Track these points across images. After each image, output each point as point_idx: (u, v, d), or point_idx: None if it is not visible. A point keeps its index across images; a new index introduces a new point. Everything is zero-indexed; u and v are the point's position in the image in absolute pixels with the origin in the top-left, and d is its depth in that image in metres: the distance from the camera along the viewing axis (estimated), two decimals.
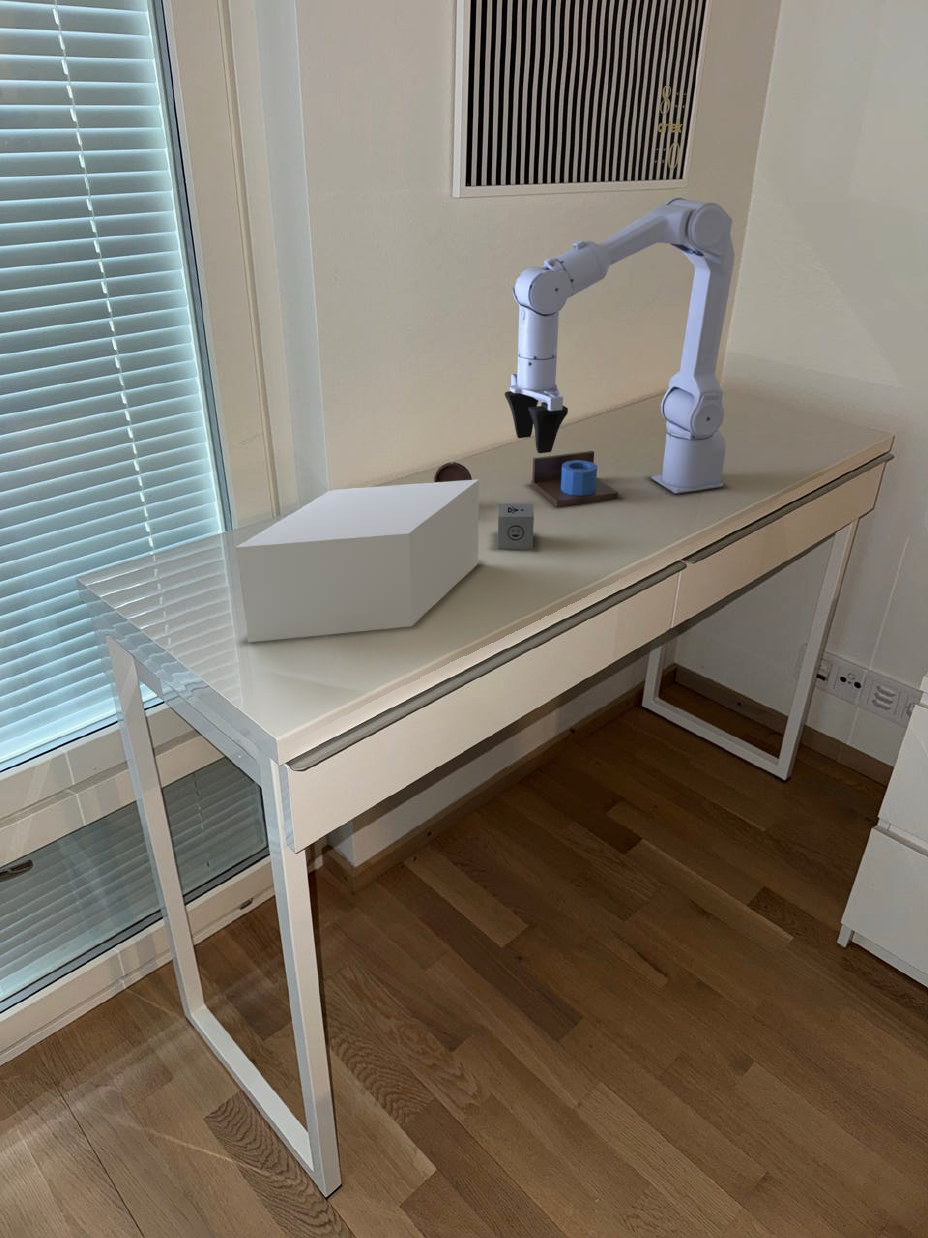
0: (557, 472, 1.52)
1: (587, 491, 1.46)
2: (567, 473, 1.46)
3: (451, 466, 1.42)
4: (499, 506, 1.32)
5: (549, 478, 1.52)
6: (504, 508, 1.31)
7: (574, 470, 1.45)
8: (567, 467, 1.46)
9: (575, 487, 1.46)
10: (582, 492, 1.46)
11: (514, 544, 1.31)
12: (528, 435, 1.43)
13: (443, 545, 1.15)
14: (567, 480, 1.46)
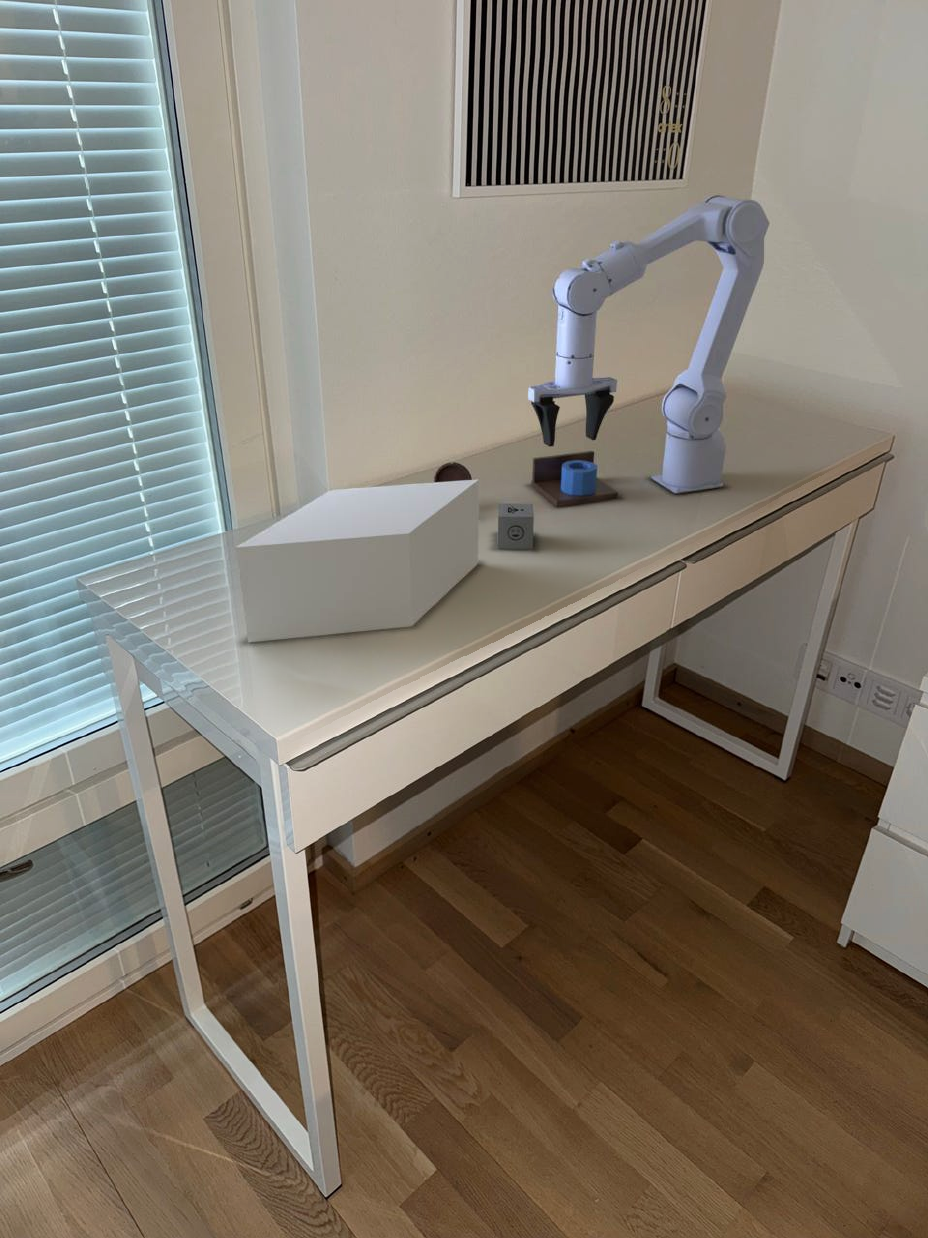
0: (557, 472, 1.52)
1: (587, 491, 1.46)
2: (567, 473, 1.46)
3: (451, 466, 1.42)
4: (499, 506, 1.32)
5: (549, 478, 1.52)
6: (504, 508, 1.31)
7: (574, 470, 1.45)
8: (567, 467, 1.46)
9: (575, 487, 1.46)
10: (582, 492, 1.46)
11: (514, 544, 1.31)
12: (591, 437, 1.44)
13: (443, 545, 1.15)
14: (567, 480, 1.46)
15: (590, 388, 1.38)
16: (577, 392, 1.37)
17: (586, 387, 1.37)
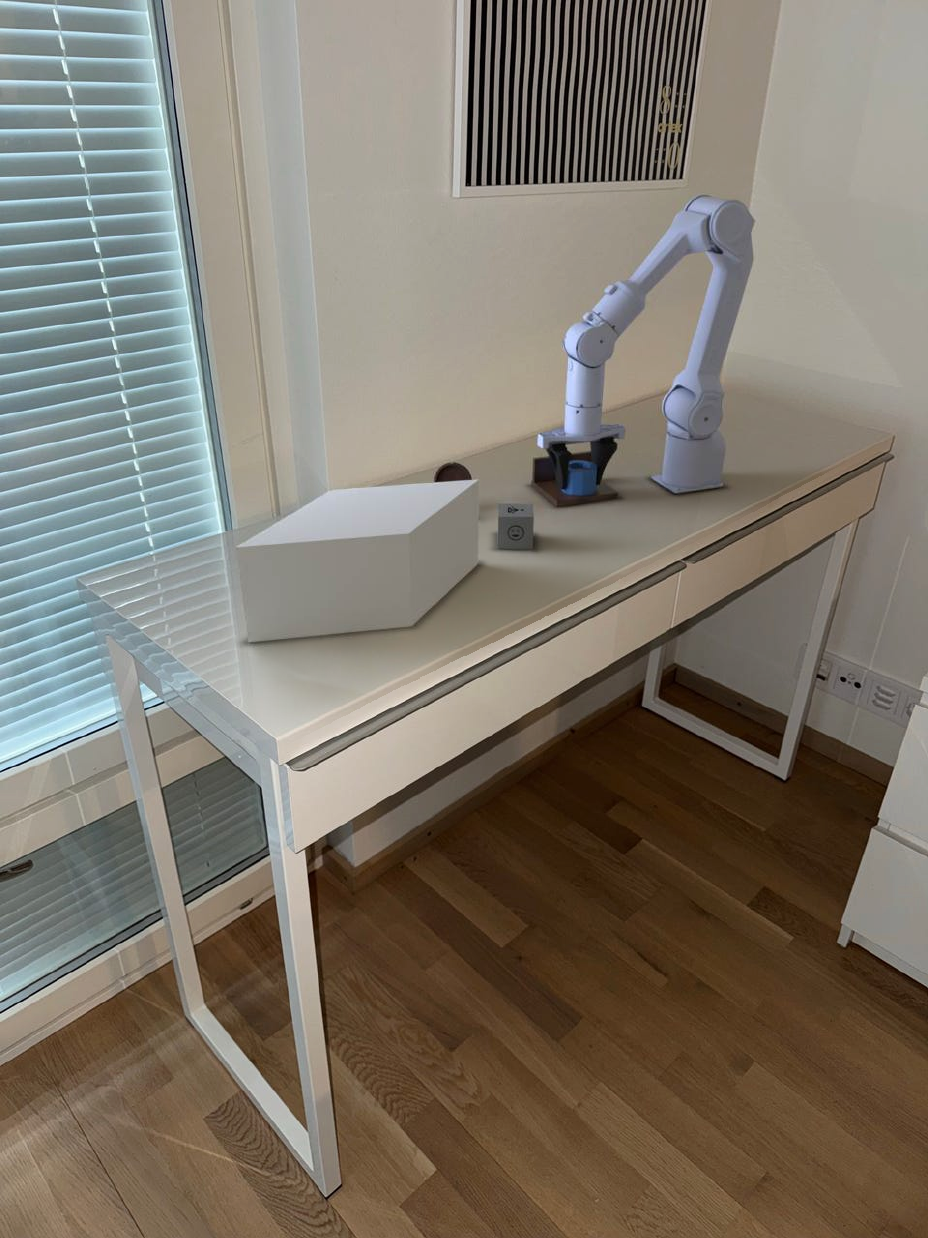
0: None
1: (587, 491, 1.46)
2: (567, 473, 1.46)
3: (451, 466, 1.42)
4: (499, 506, 1.32)
5: (549, 478, 1.52)
6: (504, 508, 1.31)
7: (574, 470, 1.45)
8: None
9: (575, 487, 1.46)
10: (582, 492, 1.46)
11: (514, 544, 1.31)
12: None
13: (443, 545, 1.15)
14: (567, 480, 1.46)
15: (598, 436, 1.42)
16: (585, 440, 1.42)
17: (594, 435, 1.42)
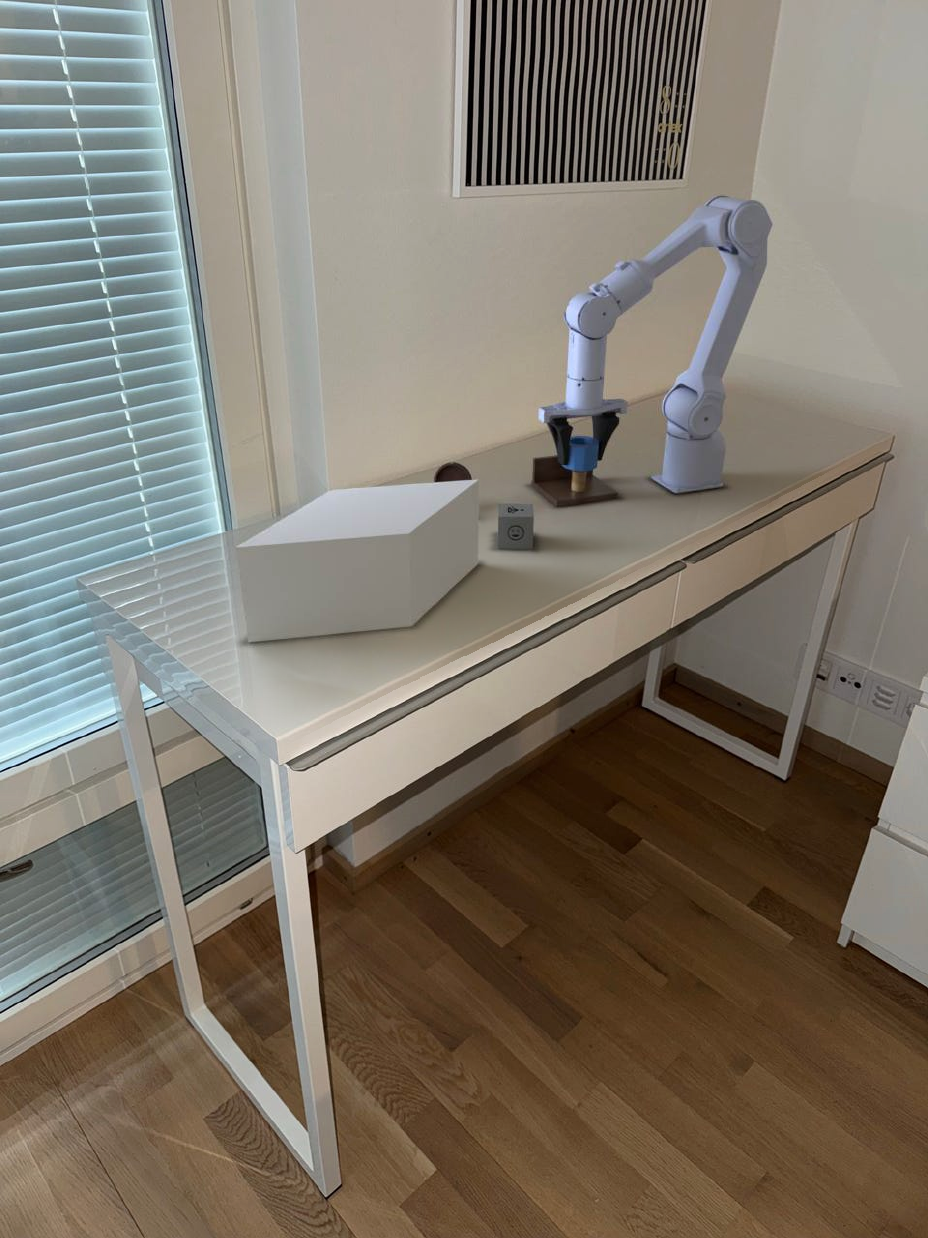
0: (557, 472, 1.52)
1: (589, 466, 1.44)
2: None
3: (451, 466, 1.42)
4: (499, 506, 1.32)
5: (549, 478, 1.52)
6: (504, 508, 1.31)
7: (575, 445, 1.43)
8: None
9: (577, 462, 1.44)
10: (584, 467, 1.44)
11: (514, 544, 1.31)
12: None
13: (443, 545, 1.15)
14: None
15: (600, 410, 1.40)
16: (586, 414, 1.40)
17: (596, 409, 1.40)
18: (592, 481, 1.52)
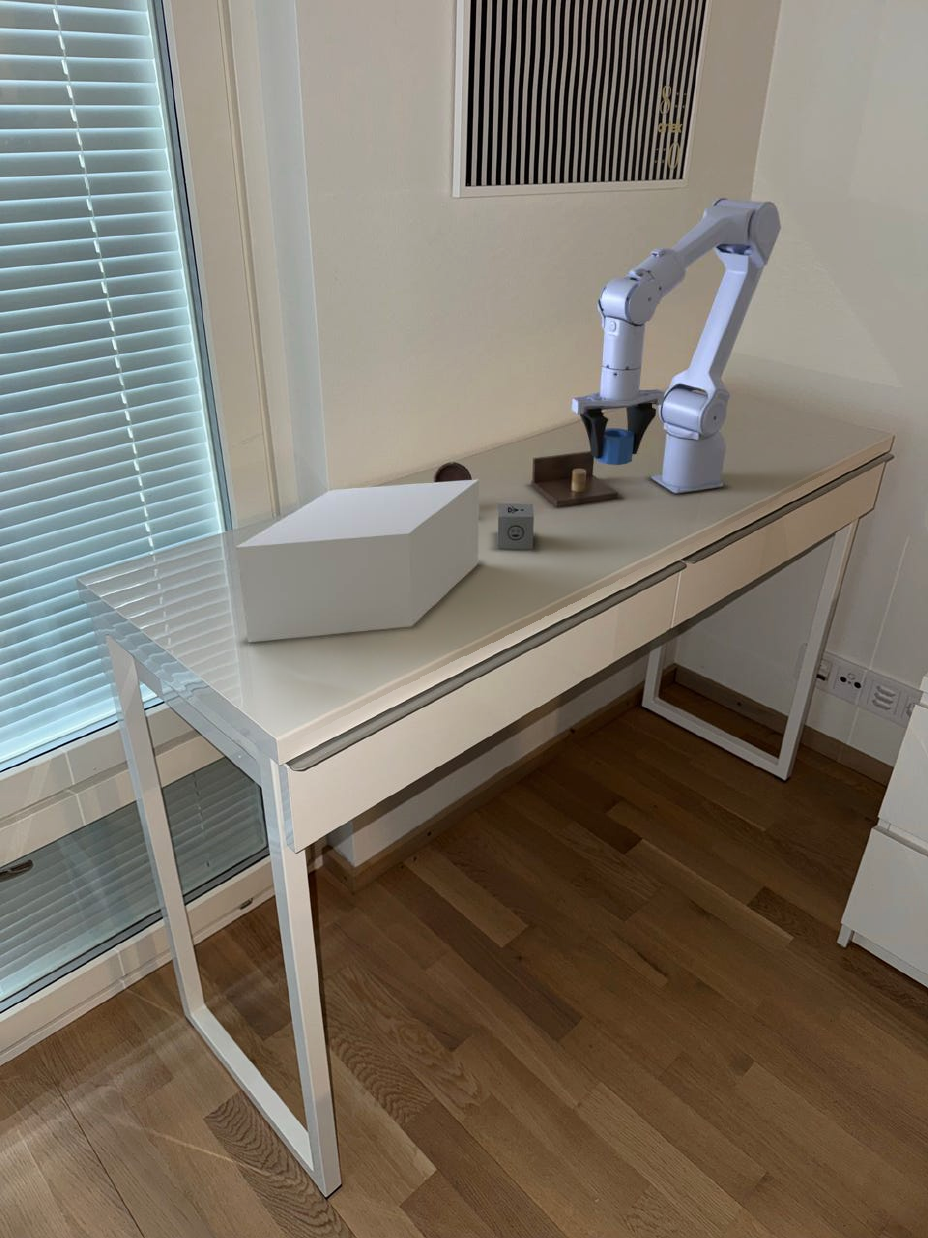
0: (557, 472, 1.52)
1: (623, 460, 1.38)
2: (603, 441, 1.37)
3: (451, 466, 1.42)
4: (499, 506, 1.32)
5: (549, 478, 1.52)
6: (504, 508, 1.31)
7: (610, 437, 1.37)
8: None
9: (611, 456, 1.38)
10: (618, 461, 1.38)
11: (514, 544, 1.31)
12: None
13: (443, 545, 1.15)
14: None
15: (636, 401, 1.34)
16: (622, 404, 1.34)
17: (632, 399, 1.34)
18: (592, 481, 1.52)
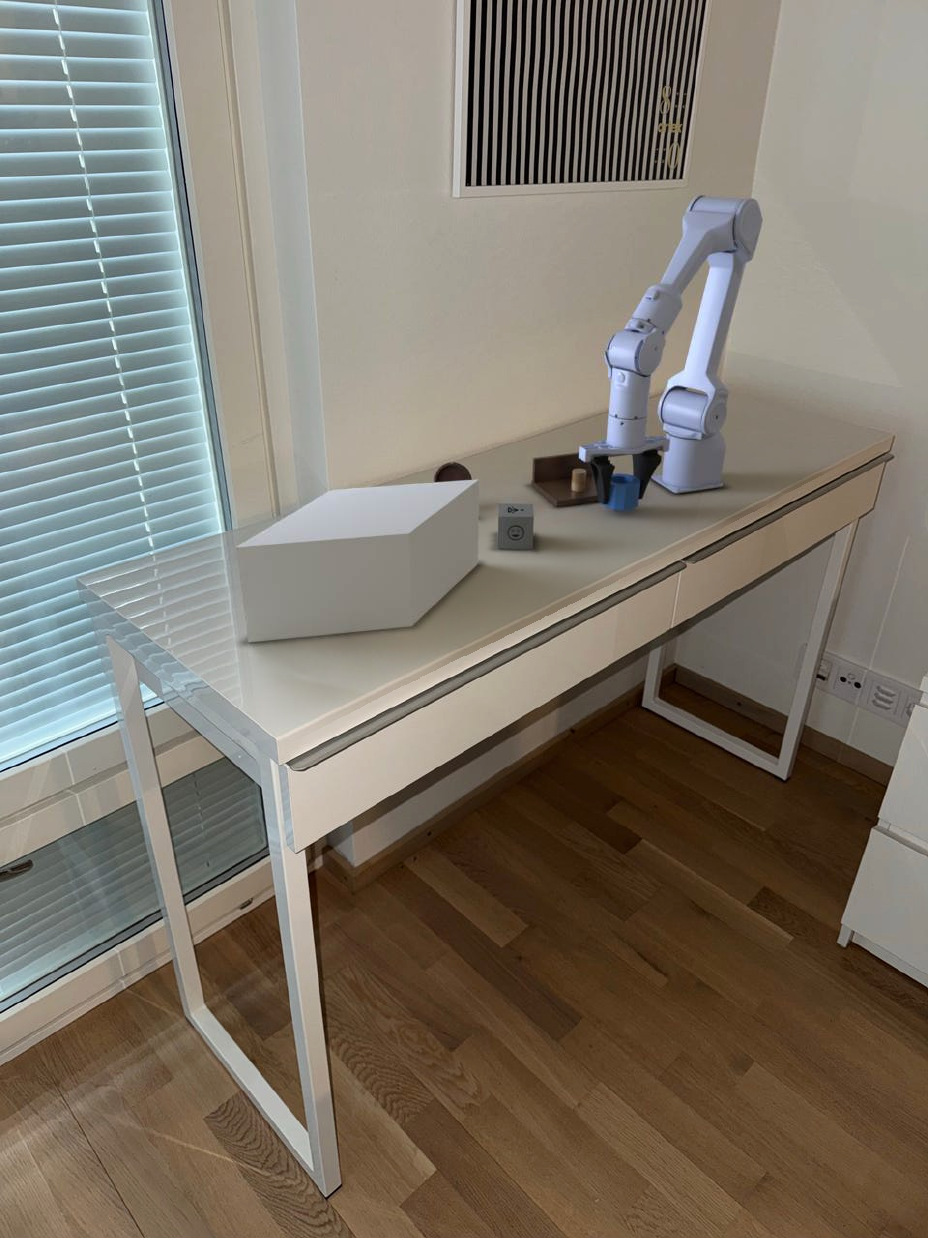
0: (557, 472, 1.52)
1: (630, 506, 1.40)
2: None
3: (451, 466, 1.42)
4: (499, 506, 1.32)
5: (549, 478, 1.52)
6: (504, 508, 1.31)
7: (616, 484, 1.39)
8: None
9: (617, 502, 1.40)
10: (624, 507, 1.40)
11: (514, 544, 1.31)
12: None
13: (443, 545, 1.15)
14: (609, 494, 1.40)
15: (642, 448, 1.36)
16: (629, 452, 1.35)
17: (638, 448, 1.36)
18: (592, 481, 1.52)
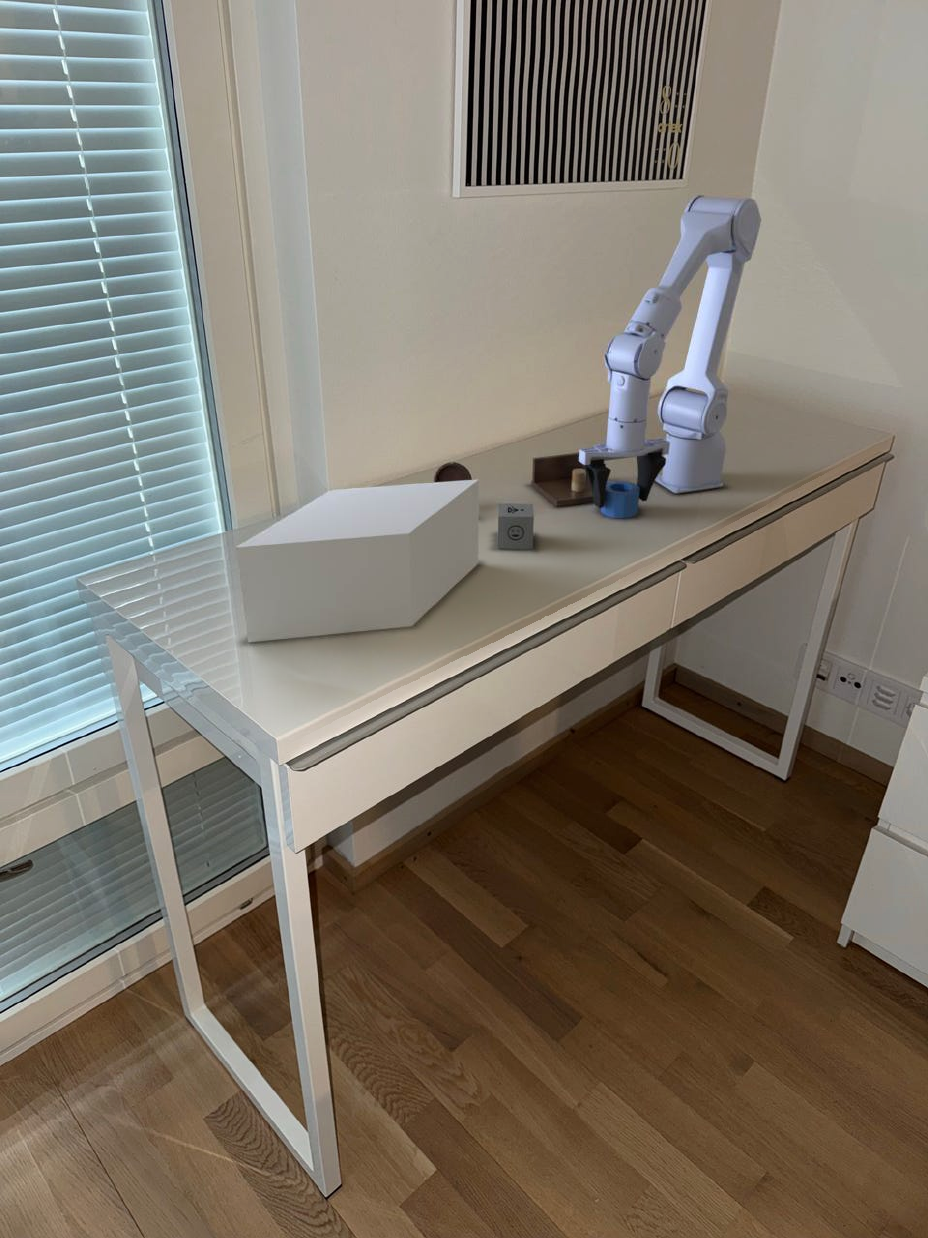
0: (557, 472, 1.52)
1: (629, 514, 1.41)
2: (608, 495, 1.40)
3: (451, 466, 1.42)
4: (499, 506, 1.32)
5: (549, 478, 1.52)
6: (504, 508, 1.31)
7: (616, 492, 1.40)
8: (608, 489, 1.41)
9: (617, 509, 1.40)
10: (624, 515, 1.41)
11: (514, 544, 1.31)
12: (641, 498, 1.43)
13: (443, 545, 1.15)
14: (608, 502, 1.41)
15: (642, 451, 1.36)
16: (629, 455, 1.36)
17: (638, 451, 1.36)
18: None
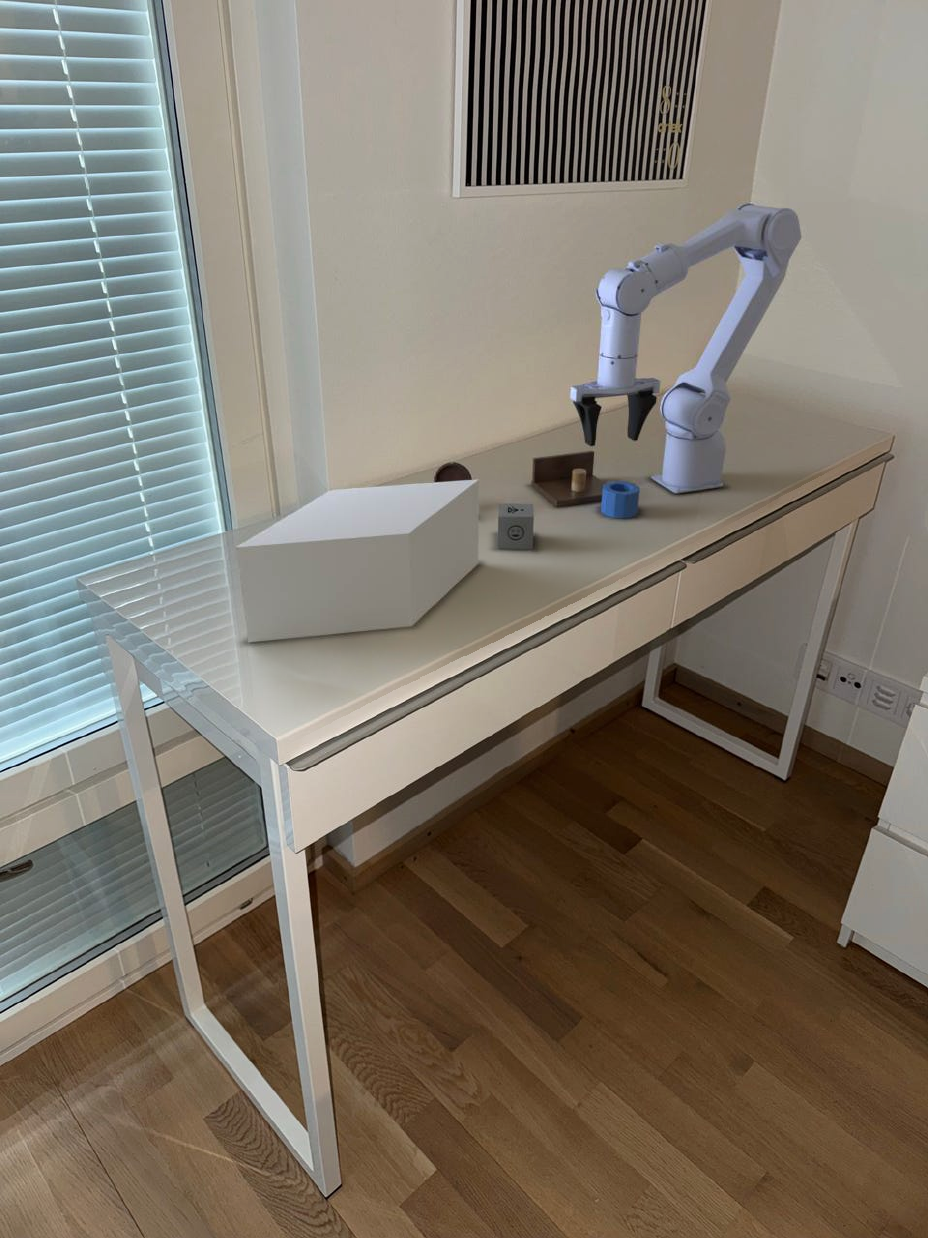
0: (557, 472, 1.52)
1: (629, 514, 1.41)
2: (608, 495, 1.40)
3: (451, 466, 1.42)
4: (499, 506, 1.32)
5: (549, 478, 1.52)
6: (504, 508, 1.31)
7: (616, 492, 1.40)
8: (608, 489, 1.41)
9: (617, 509, 1.40)
10: (624, 515, 1.41)
11: (514, 544, 1.31)
12: (632, 438, 1.44)
13: (443, 545, 1.15)
14: (608, 502, 1.41)
15: (633, 388, 1.38)
16: (619, 392, 1.37)
17: (629, 387, 1.37)
18: (592, 481, 1.52)
